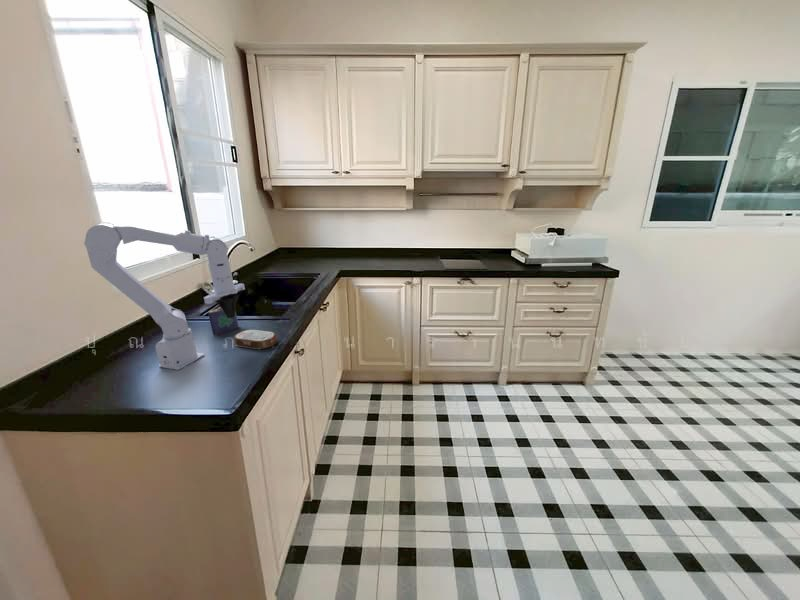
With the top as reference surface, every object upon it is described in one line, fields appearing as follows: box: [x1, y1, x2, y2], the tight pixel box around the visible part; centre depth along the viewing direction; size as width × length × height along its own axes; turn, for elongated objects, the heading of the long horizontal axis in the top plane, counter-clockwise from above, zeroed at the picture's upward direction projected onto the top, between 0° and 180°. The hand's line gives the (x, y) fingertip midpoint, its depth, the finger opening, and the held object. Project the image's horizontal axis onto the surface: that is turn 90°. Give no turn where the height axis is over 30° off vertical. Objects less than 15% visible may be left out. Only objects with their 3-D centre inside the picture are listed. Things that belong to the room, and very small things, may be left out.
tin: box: [233, 329, 278, 350], centre depth 114 cm, size 15×3×8 cm
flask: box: [207, 306, 240, 336], centre depth 123 cm, size 9×3×11 cm, turn 138°
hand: (231, 317), depth 109 cm, fingers closed
